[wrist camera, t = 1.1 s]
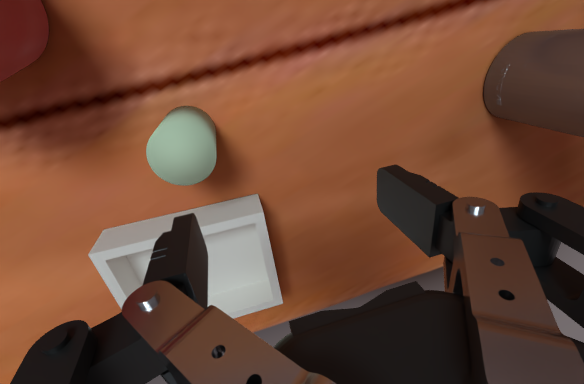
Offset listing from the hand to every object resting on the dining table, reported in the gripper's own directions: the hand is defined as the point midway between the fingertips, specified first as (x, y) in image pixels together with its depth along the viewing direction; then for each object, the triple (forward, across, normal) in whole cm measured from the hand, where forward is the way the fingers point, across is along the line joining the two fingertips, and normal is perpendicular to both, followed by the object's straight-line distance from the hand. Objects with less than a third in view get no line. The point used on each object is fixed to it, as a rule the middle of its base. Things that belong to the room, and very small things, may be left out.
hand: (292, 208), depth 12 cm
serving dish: (+18, +8, +14) cm, 24 cm away
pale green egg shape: (+18, +6, 0) cm, 19 cm away
